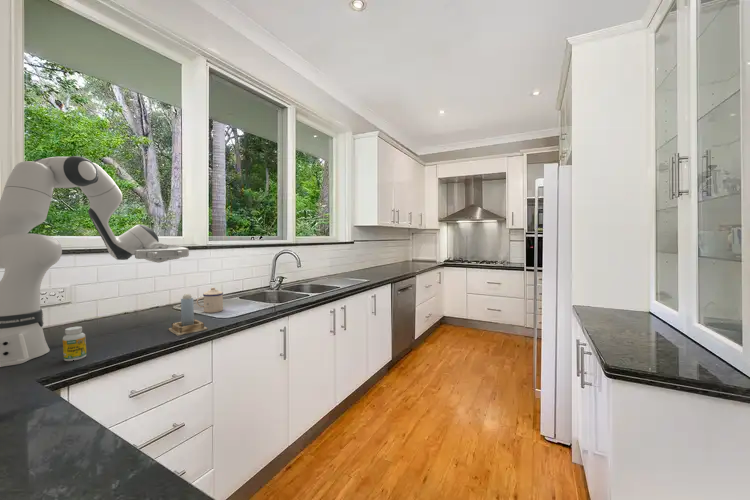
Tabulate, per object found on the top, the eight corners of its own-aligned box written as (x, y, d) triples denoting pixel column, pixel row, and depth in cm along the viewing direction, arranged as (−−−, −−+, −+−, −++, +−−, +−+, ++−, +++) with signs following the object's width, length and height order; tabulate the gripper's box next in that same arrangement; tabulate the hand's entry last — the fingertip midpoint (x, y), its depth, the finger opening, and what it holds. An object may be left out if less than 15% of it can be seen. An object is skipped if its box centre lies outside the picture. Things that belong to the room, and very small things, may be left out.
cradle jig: (177, 335, 129) (177, 328, 128) (168, 329, 136) (168, 323, 136) (207, 329, 137) (207, 323, 137) (197, 324, 144) (197, 318, 144)
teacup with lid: (222, 308, 175) (222, 285, 174) (224, 311, 167) (223, 288, 166) (196, 310, 169) (195, 287, 168) (197, 314, 161) (196, 290, 160)
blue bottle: (183, 330, 133) (183, 295, 133) (179, 328, 136) (179, 293, 136) (195, 328, 136) (195, 293, 136) (191, 326, 139) (190, 292, 139)
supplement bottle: (84, 353, 110) (83, 324, 109) (88, 357, 106) (86, 327, 106) (62, 358, 106) (60, 328, 105) (65, 362, 102) (63, 331, 102)
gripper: (129, 246, 145) (138, 247, 136) (182, 245, 160) (193, 246, 151) (130, 261, 145) (139, 263, 136) (182, 258, 160) (193, 260, 151)
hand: (167, 254), depth 143 cm, fingers open, 8 cm apart
